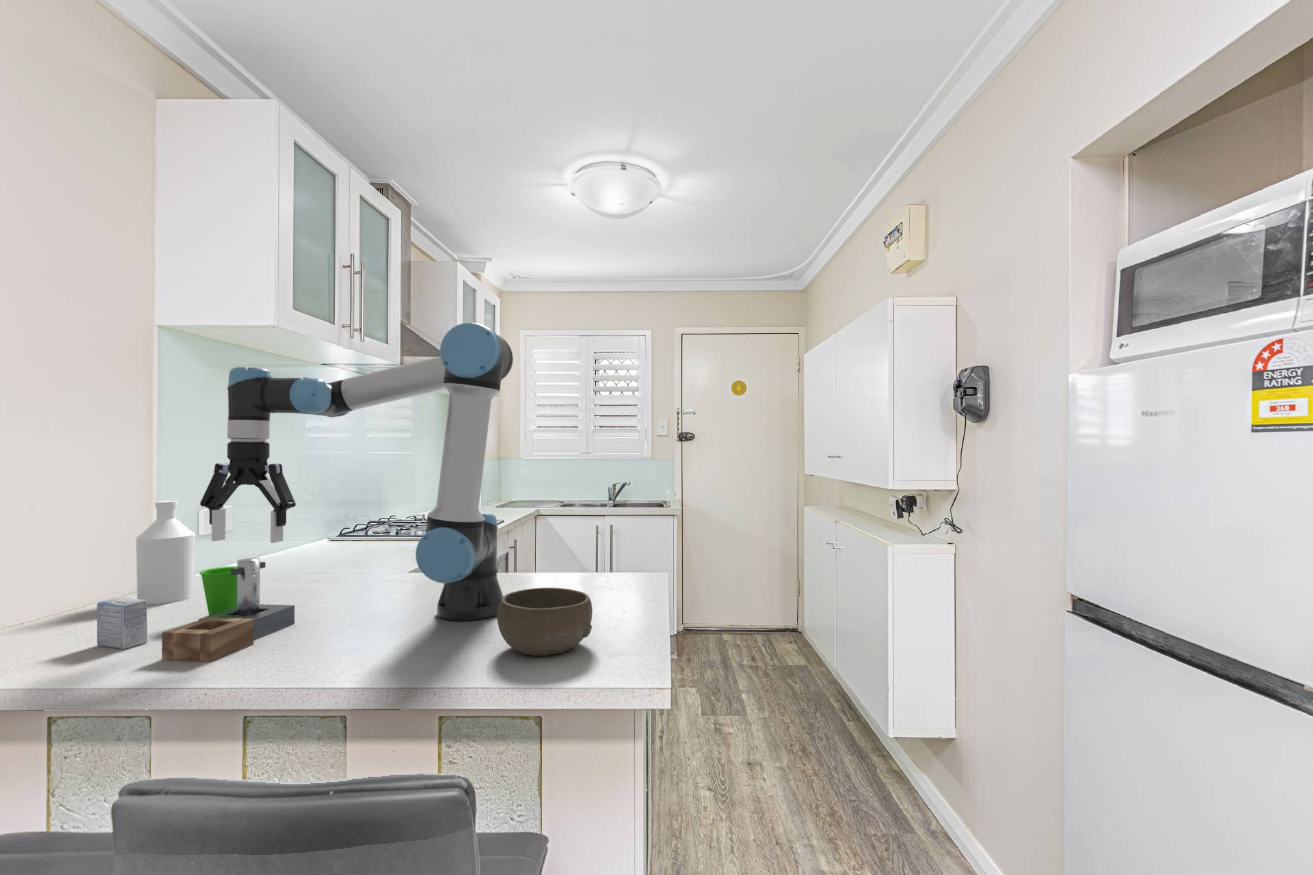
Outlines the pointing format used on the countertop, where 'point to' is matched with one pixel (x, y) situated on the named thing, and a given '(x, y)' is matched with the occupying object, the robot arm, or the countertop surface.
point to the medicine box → (122, 622)
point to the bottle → (165, 558)
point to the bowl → (544, 620)
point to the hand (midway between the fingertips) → (247, 541)
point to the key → (248, 585)
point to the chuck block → (264, 618)
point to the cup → (220, 589)
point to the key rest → (207, 639)
